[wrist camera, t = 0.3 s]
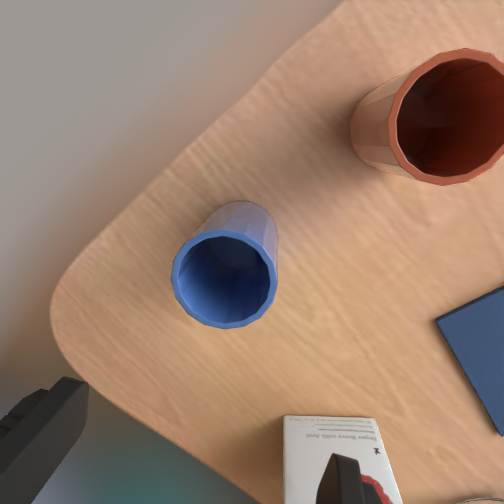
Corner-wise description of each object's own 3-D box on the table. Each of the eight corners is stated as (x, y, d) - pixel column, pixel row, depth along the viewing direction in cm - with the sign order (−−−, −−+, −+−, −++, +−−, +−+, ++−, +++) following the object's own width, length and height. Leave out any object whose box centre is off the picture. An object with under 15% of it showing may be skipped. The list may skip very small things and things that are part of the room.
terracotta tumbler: (334, 115, 26) (366, 101, 17) (410, 65, 25) (490, 18, 15) (373, 184, 28) (422, 207, 18) (447, 140, 26) (542, 139, 17)
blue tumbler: (192, 225, 30) (150, 265, 20) (252, 186, 28) (237, 209, 19) (232, 282, 31) (211, 345, 21) (291, 247, 30) (296, 297, 20)
